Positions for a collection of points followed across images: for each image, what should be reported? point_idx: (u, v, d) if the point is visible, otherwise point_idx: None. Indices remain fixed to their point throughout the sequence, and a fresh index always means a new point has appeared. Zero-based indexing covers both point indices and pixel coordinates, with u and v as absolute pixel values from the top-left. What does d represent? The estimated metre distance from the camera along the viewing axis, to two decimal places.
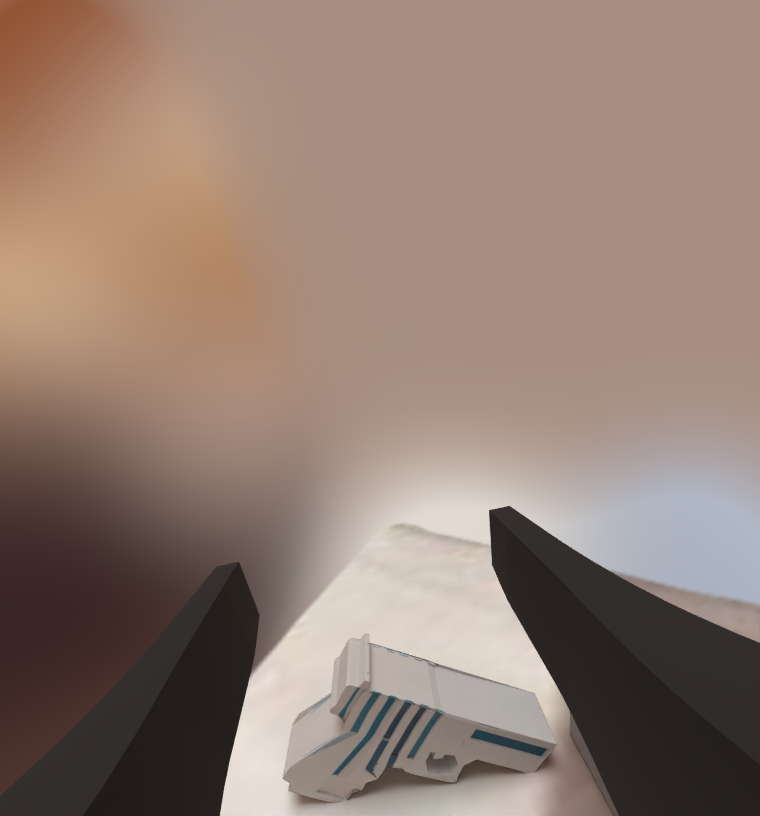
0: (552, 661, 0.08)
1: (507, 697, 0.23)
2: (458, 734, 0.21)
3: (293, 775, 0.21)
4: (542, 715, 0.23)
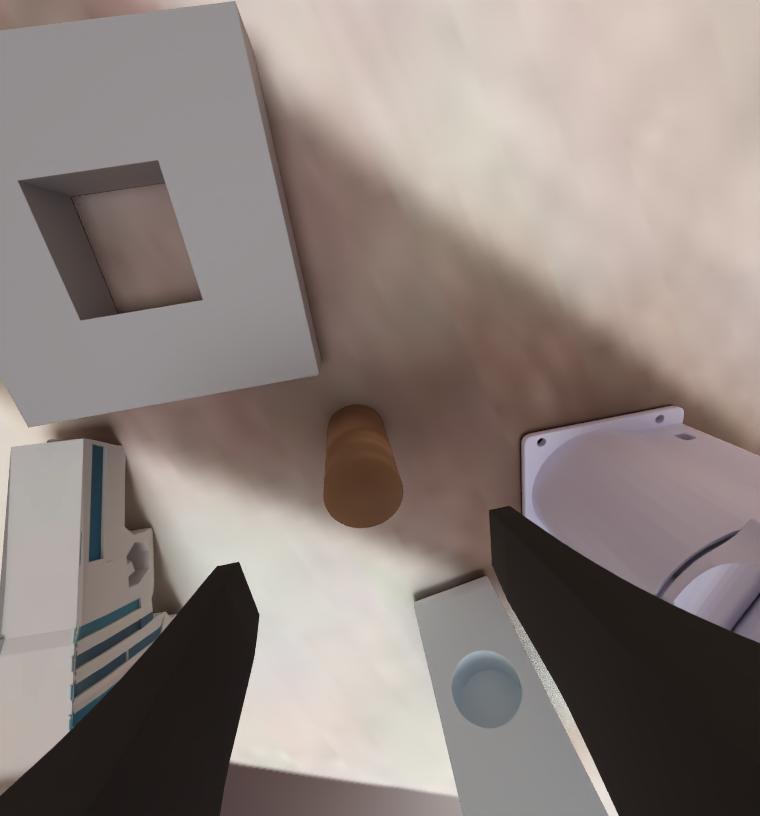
0: (552, 661, 0.08)
1: (29, 502, 0.15)
2: (101, 577, 0.15)
3: None
4: (45, 443, 0.15)
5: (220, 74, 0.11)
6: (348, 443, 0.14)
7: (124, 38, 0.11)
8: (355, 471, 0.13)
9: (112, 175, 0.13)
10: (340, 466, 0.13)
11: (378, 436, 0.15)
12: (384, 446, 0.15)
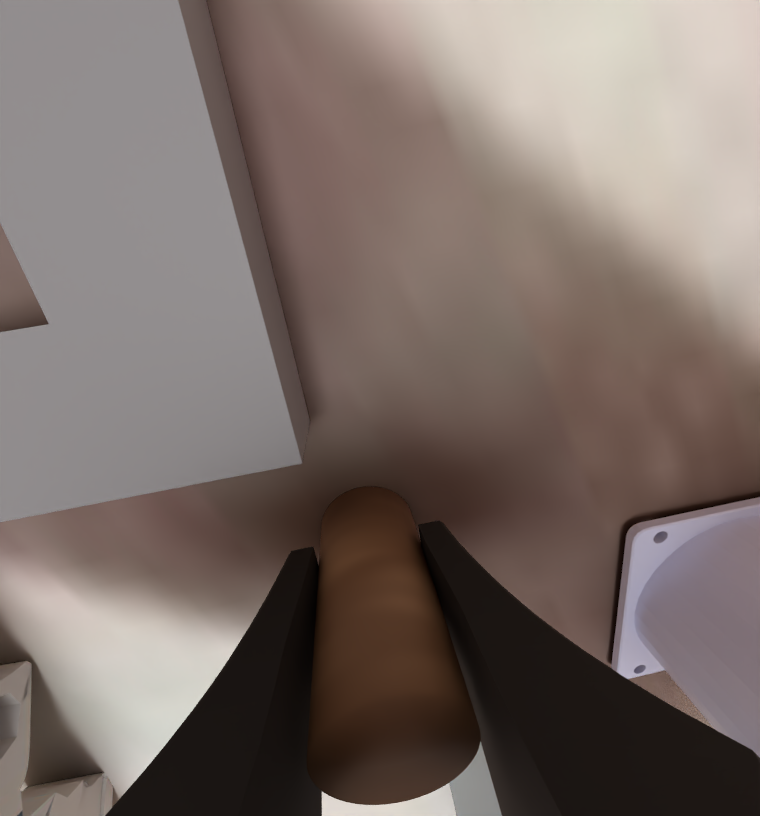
0: None
1: None
2: None
3: None
4: None
5: None
6: (360, 614, 0.07)
7: None
8: (377, 718, 0.06)
9: None
10: (345, 709, 0.06)
11: (415, 579, 0.08)
12: (430, 610, 0.07)
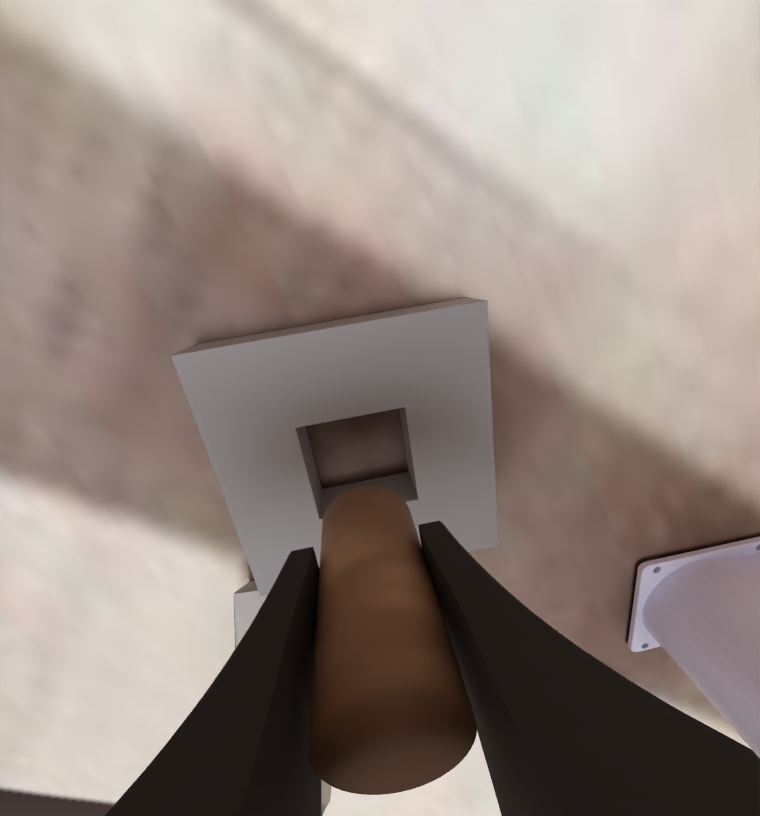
0: (464, 681, 0.08)
1: None
2: None
3: (330, 785, 0.23)
4: None
5: (465, 348, 0.14)
6: (355, 612, 0.07)
7: (398, 330, 0.14)
8: (372, 710, 0.06)
9: None
10: (340, 704, 0.06)
11: (410, 575, 0.08)
12: (425, 605, 0.08)
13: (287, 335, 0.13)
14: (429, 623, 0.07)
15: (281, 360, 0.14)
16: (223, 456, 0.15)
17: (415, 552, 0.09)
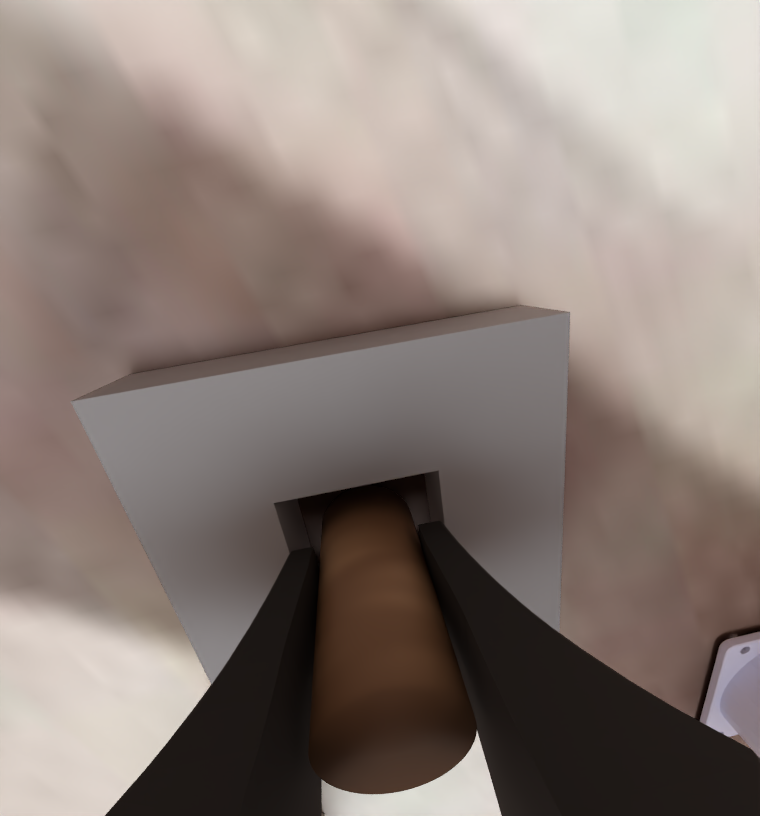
0: (464, 681, 0.08)
1: None
2: None
3: None
4: None
5: (532, 384, 0.09)
6: (355, 612, 0.07)
7: (432, 358, 0.09)
8: (372, 710, 0.06)
9: None
10: (340, 703, 0.06)
11: (410, 574, 0.08)
12: (425, 604, 0.08)
13: (258, 367, 0.08)
14: (429, 623, 0.07)
15: (249, 406, 0.09)
16: (165, 545, 0.10)
17: (415, 552, 0.09)
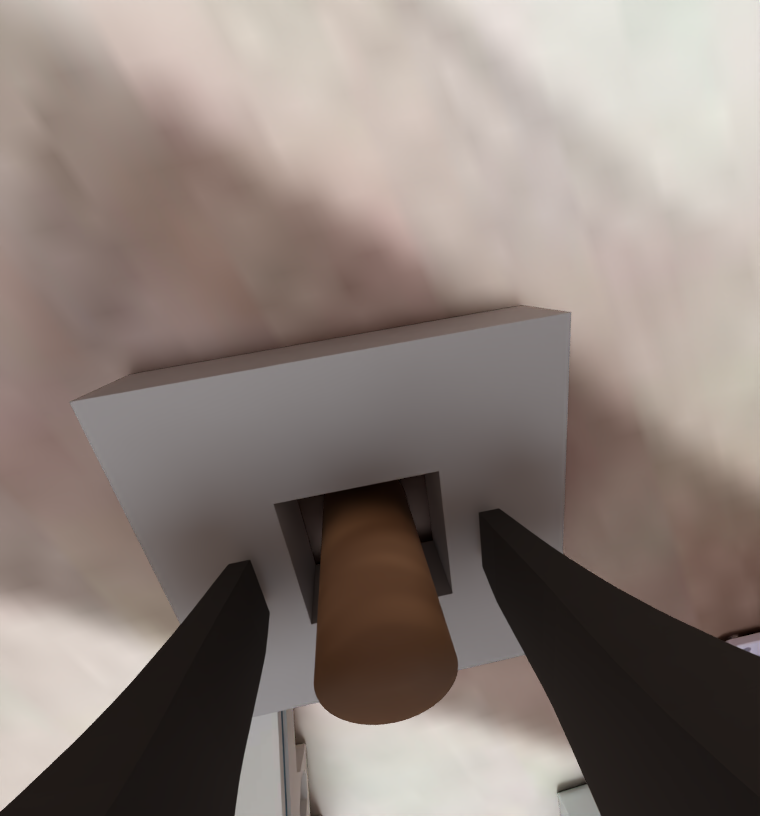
0: (539, 664, 0.08)
1: None
2: None
3: None
4: None
5: (533, 384, 0.09)
6: (354, 569, 0.08)
7: (432, 358, 0.09)
8: (368, 645, 0.07)
9: None
10: (341, 639, 0.07)
11: (402, 541, 0.09)
12: (415, 565, 0.09)
13: (258, 368, 0.08)
14: (418, 579, 0.08)
15: (249, 406, 0.09)
16: (165, 546, 0.10)
17: (408, 524, 0.10)
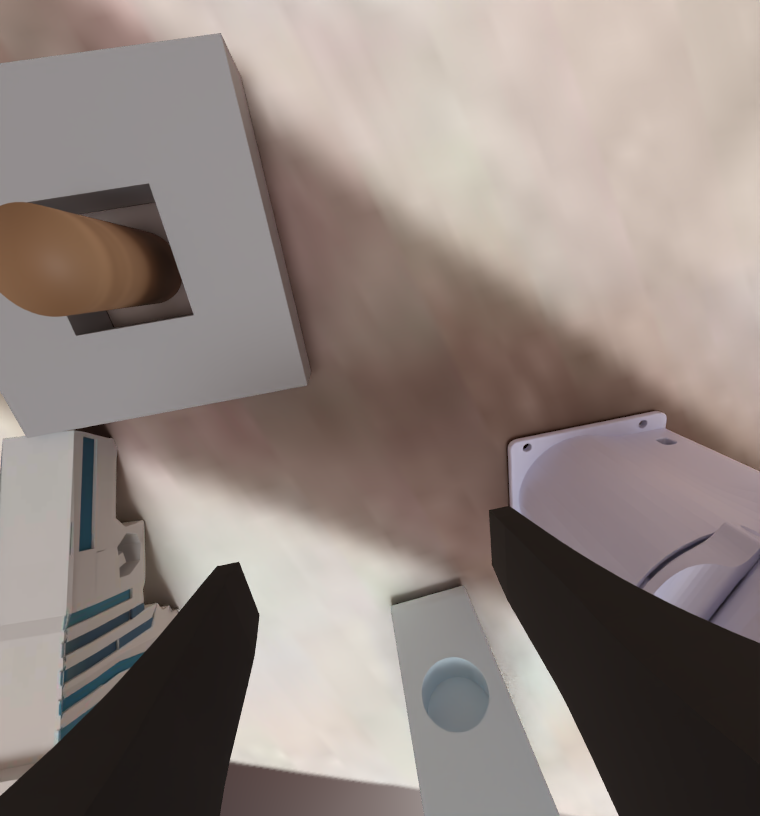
0: (552, 661, 0.08)
1: (20, 492, 0.15)
2: (91, 567, 0.16)
3: None
4: None
5: (207, 102, 0.12)
6: None
7: (115, 69, 0.11)
8: (11, 223, 0.10)
9: (105, 197, 0.13)
10: None
11: (106, 223, 0.12)
12: (100, 224, 0.11)
13: None
14: (91, 222, 0.11)
15: None
16: None
17: (134, 234, 0.13)
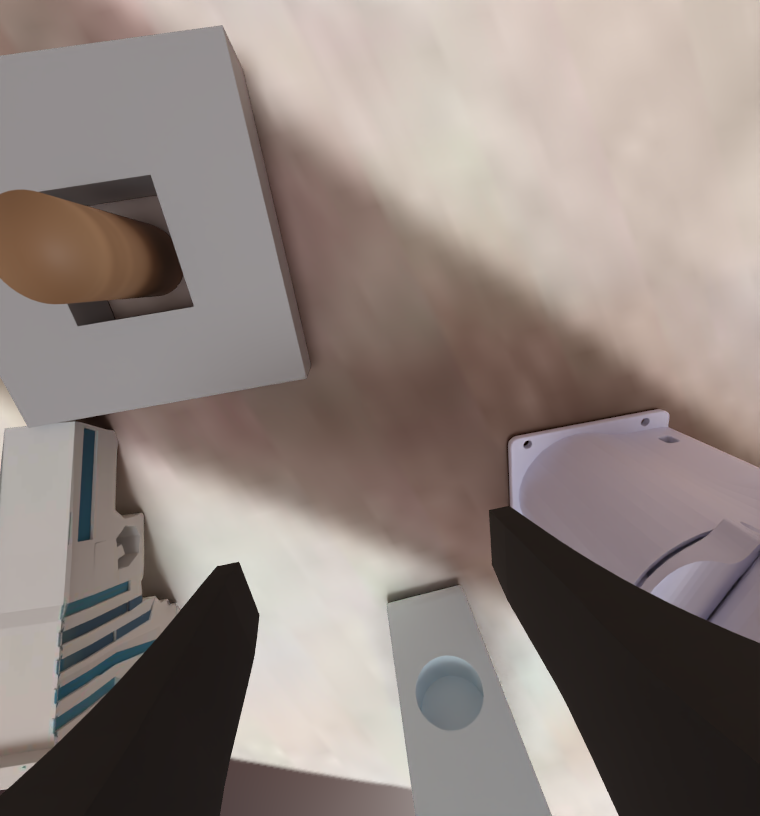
0: (552, 661, 0.08)
1: (21, 482, 0.15)
2: (90, 557, 0.16)
3: None
4: None
5: (209, 93, 0.12)
6: None
7: (118, 61, 0.12)
8: (13, 210, 0.10)
9: (108, 188, 0.13)
10: None
11: (107, 213, 0.12)
12: (101, 214, 0.11)
13: None
14: (92, 212, 0.11)
15: None
16: None
17: (135, 225, 0.13)
